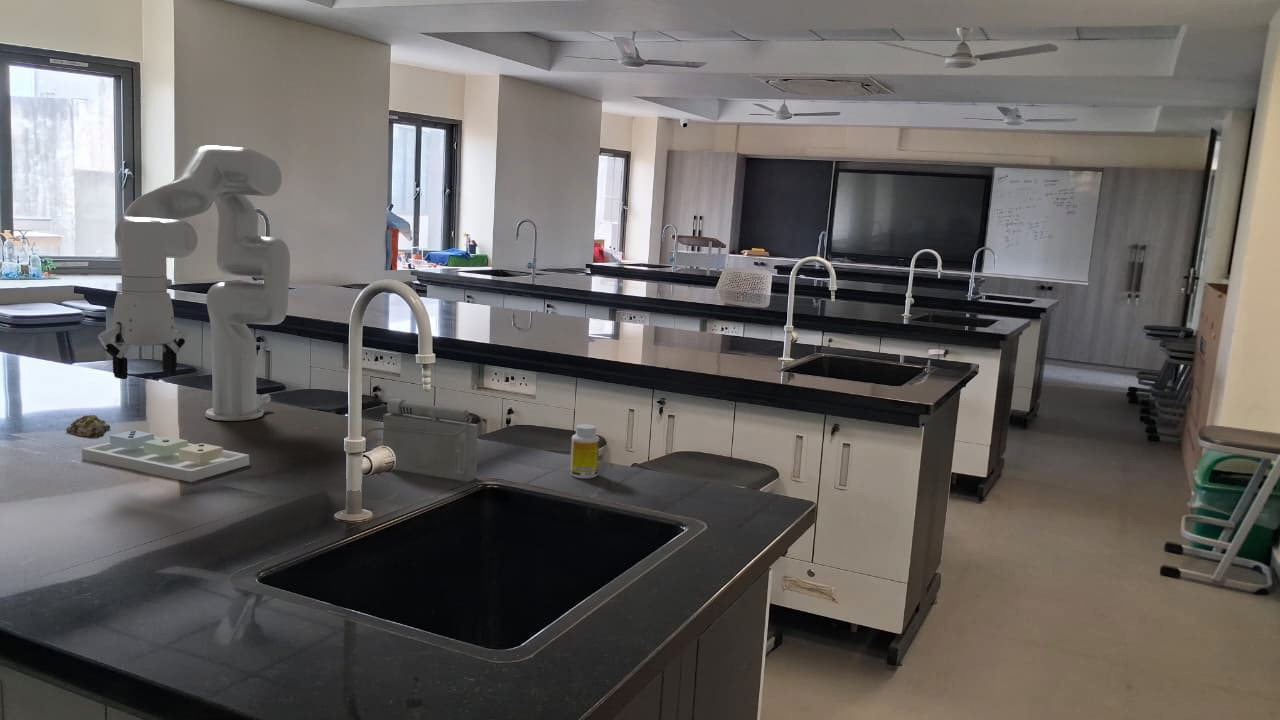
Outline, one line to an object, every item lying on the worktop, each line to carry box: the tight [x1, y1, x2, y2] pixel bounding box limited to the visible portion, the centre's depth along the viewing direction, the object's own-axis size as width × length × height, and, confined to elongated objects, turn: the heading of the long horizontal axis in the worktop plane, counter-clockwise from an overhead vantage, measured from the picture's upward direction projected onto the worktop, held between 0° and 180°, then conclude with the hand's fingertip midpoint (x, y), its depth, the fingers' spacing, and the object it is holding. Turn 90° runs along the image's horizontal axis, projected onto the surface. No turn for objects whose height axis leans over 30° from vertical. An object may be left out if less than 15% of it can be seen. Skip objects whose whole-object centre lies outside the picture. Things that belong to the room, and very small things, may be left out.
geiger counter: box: [362, 398, 479, 482], centre depth 186 cm, size 14×6×25 cm
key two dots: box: [179, 443, 224, 464], centre depth 180 cm, size 5×5×2 cm
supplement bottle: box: [569, 423, 600, 480], centre depth 191 cm, size 6×6×10 cm
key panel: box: [81, 435, 250, 483], centre depth 184 cm, size 14×28×2 cm, turn 68°
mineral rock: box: [65, 414, 111, 438], centre depth 202 cm, size 11×4×8 cm
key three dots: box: [109, 429, 155, 449], centre depth 187 cm, size 5×5×2 cm
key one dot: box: [144, 436, 189, 456], centre depth 184 cm, size 5×5×2 cm
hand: (145, 375), depth 181 cm, fingers open, 9 cm apart
